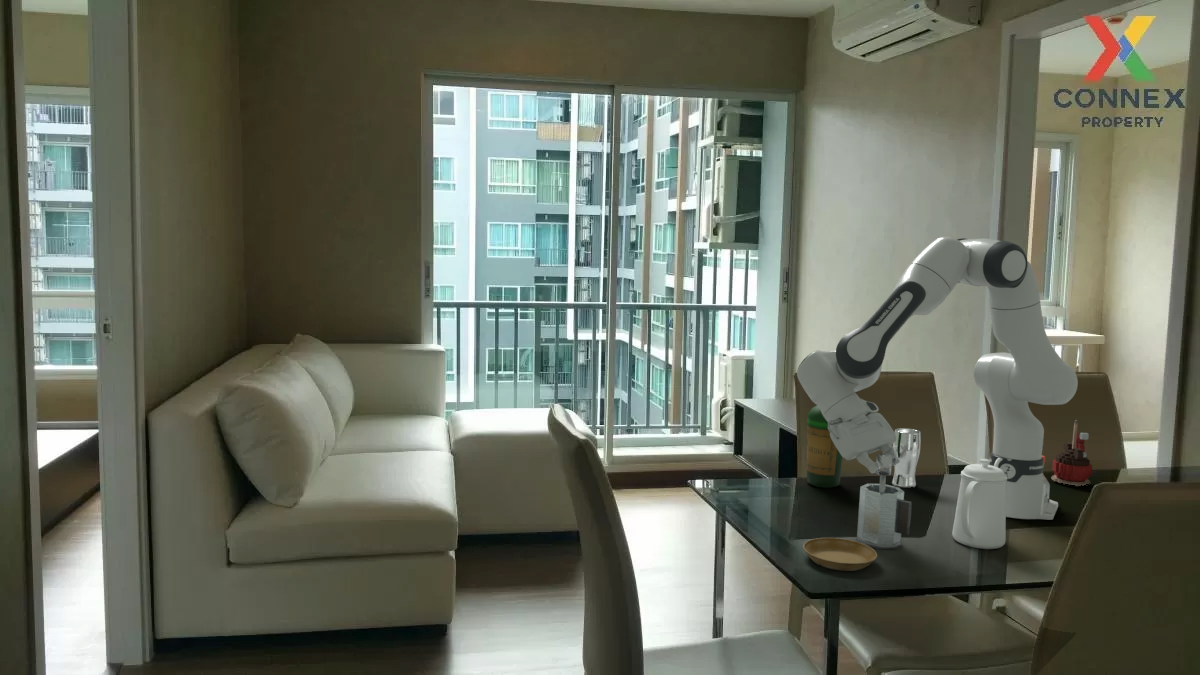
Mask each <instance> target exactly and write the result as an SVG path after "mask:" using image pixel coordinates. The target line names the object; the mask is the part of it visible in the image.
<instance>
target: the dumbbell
mask: <svg viewBox="0 0 1200 675" xmlns="http://www.w3.org/2000/svg"><path fill="white" fill-rule="evenodd" d="M875 462H876V463H877V464H878V466H879V467H880V470H879V471H877V472H876V473H875V474H876V475H879V484H880V486H879V493H885V484H886V482H887V481H886V480H887V476H891V474H892V467H893V466H892V455H889V454H885V453H877V454H876V461H875Z"/></svg>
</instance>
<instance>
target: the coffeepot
mask: <svg viewBox="0 0 1200 675" xmlns="http://www.w3.org/2000/svg"><path fill="white" fill-rule="evenodd" d="M1002 460H1003V459H1002V458H998V459H997V460H996V461H995V464H994V466H991V465H990V459H988V458H980V459H979V462H980V463H971V464H968V465H966V466H965V467H964V469H962V470H961V471H960V476H961V477H960V479H961V480H960V483H959V490H958V494H957V502H956V509H955V514H954V519H953V521H954V522H953V526H952V533H951V534H952V537H953V539H954V540H955V541H956V542H958V544H959V543H960V544H961V545H963V546H967V547H970V548H975V549H983V550H995V549H1000V548H1002V547H1003V546H1004V545H1005V544H1006V534H1007V533H1006V528H1007V527H1006V525H1007V523H1006V518H1007V517H1006V481H1007V477H1006V476H1005V474H1004V472H1003V470H1001V469H1000V468H998V465H999V463H1000V461H1002Z"/></svg>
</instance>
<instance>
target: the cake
mask: <svg viewBox="0 0 1200 675" xmlns="http://www.w3.org/2000/svg"><path fill="white" fill-rule="evenodd" d="M1078 424H1079V420H1077V419H1074V424H1073V433H1072V442H1064V444H1063V451H1061V452H1059V453H1058V454H1056V456H1055V459H1053V460H1052V468H1051V470H1052V471H1053V473H1054V474H1053V475H1051V477H1050V478H1051V480H1052V481H1053V482H1057V483H1059V484H1061V483H1063V484H1062V485H1065V484H1069V485H1075V486H1074V487H1079V486H1080V487H1082V486H1084V485H1086V484H1089V483H1090V484H1091V480H1089V478H1090V477H1092V475H1093V465H1092V464H1091V463H1090V459H1089V458H1088V456H1087V452H1086V451H1085V449H1086V447H1085V441H1088V440H1089V436H1090V435H1089V433H1088V432H1079V433H1078V427H1079V426H1078ZM1090 484H1089V485H1090ZM1069 485H1068V486H1069ZM1081 485H1082V486H1081ZM1086 486H1087V485H1086Z"/></svg>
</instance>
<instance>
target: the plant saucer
mask: <svg viewBox="0 0 1200 675" xmlns="http://www.w3.org/2000/svg"><path fill="white" fill-rule="evenodd" d="M802 549H803V550H804V551H805V554H807V556H808V557H809V558H810V559H811V560H812V561H813V562H814V563H815V564H817V565H819V566H820V565H821V566H820V567H824V568H827V569H830V570H835V571H842V572H843V571H844V572H845V571H847V572H853V571H859V570H863V569H865V568H866V567H868V566H869V565H871V564H872V563H874V561H875V560H876V559H877V558H878V553H877V552H876V550H875V549H874V548H871V547H869V546H867V545H865V544H862V543H859V542H857V540H856V541H855V540H850V539H845V538H838V537H818V538H812V539H809V540H806V541H805V542H804V543H803V545H802Z"/></svg>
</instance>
